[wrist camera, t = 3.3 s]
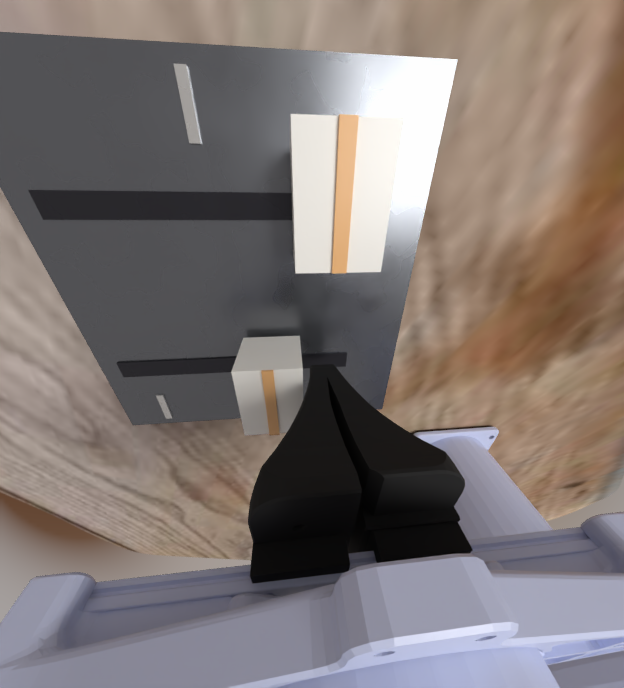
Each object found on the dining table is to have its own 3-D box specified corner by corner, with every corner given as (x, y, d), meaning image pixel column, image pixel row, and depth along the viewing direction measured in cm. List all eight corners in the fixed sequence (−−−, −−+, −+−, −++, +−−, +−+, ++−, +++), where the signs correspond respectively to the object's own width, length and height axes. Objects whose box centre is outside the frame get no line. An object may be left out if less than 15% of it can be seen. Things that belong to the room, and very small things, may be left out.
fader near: (358, 257, 11) (381, 272, 8) (293, 257, 10) (295, 274, 8) (369, 145, 9) (405, 116, 6) (289, 143, 8) (290, 112, 6)
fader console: (375, 394, 18) (382, 410, 17) (144, 408, 17) (132, 426, 15) (434, 80, 9) (459, 57, 8) (-30, 55, 8) (-94, 24, 7)
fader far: (301, 391, 14) (304, 432, 12) (252, 394, 14) (244, 437, 12) (299, 335, 12) (302, 369, 10) (243, 337, 12) (230, 373, 10)
